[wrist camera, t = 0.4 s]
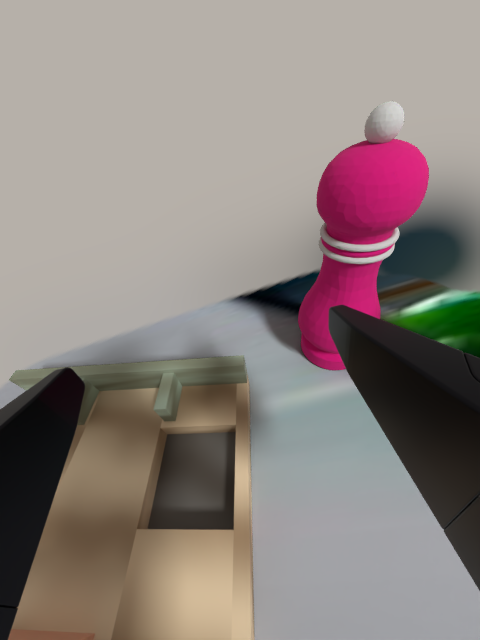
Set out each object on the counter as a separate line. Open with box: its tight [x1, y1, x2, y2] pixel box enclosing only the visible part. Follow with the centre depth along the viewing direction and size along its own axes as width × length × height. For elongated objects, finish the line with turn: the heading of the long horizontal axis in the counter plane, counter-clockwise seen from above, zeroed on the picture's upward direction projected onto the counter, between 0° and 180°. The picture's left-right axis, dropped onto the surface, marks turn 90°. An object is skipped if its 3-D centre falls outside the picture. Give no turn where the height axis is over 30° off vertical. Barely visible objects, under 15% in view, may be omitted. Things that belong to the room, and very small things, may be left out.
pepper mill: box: [298, 102, 429, 370], centre depth 19 cm, size 7×7×20 cm
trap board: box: [9, 355, 254, 640], centre depth 15 cm, size 24×22×5 cm
